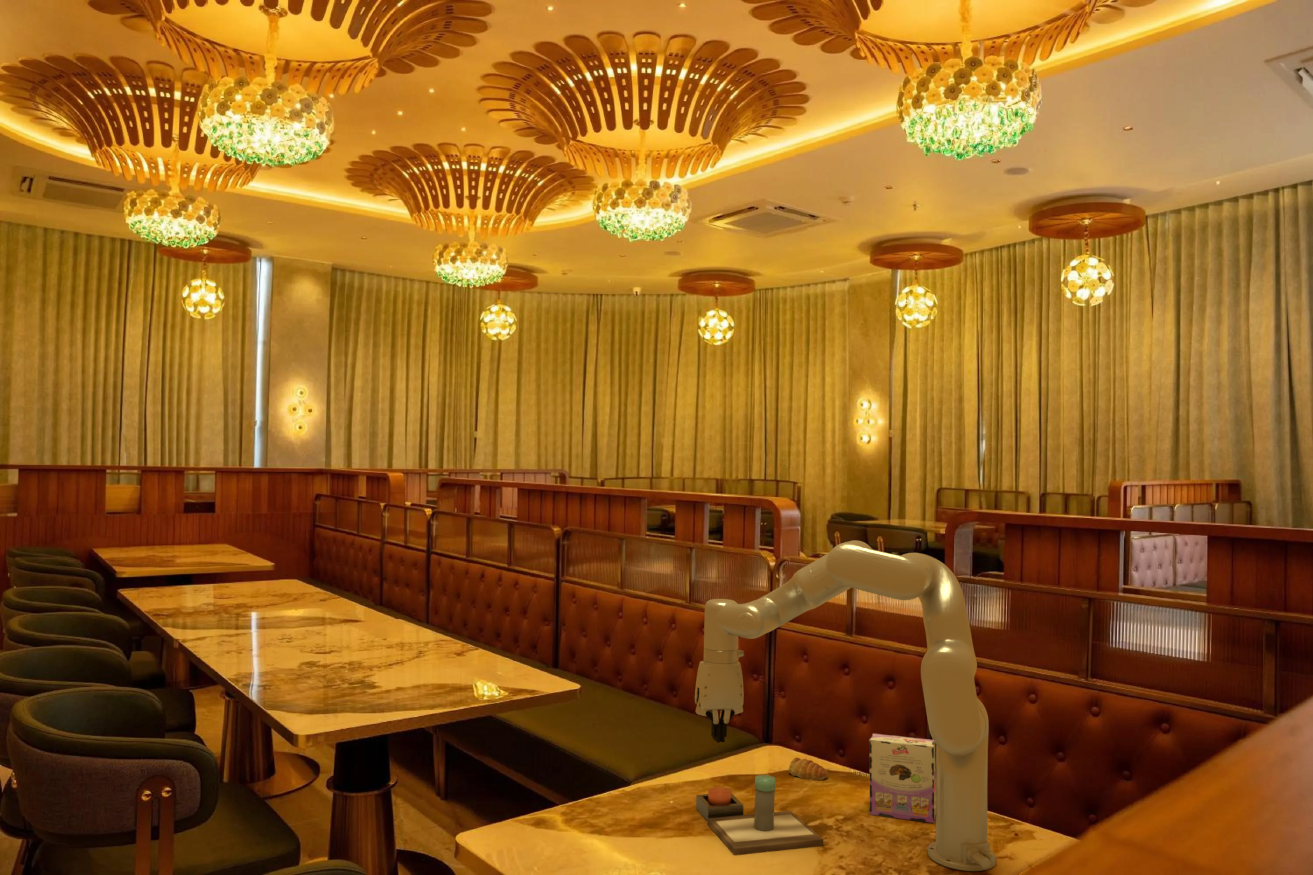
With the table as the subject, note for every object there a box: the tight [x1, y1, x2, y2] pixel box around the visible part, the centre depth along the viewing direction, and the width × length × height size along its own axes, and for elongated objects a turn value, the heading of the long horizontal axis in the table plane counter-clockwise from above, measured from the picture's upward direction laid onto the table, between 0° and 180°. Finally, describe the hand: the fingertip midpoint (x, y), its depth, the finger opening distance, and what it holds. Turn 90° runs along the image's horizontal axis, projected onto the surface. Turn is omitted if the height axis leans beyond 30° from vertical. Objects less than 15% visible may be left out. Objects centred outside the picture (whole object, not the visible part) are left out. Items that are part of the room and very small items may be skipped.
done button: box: [707, 786, 732, 806], centre depth 196 cm, size 5×5×2 cm
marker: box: [753, 774, 777, 831], centre depth 185 cm, size 4×4×10 cm
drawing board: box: [706, 810, 824, 856], centre depth 185 cm, size 16×19×1 cm
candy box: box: [868, 733, 936, 824], centre depth 197 cm, size 14×6×16 cm, turn 69°
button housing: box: [695, 792, 744, 821], centre depth 196 cm, size 8×8×3 cm
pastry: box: [788, 756, 829, 781], centre depth 222 cm, size 9×7×4 cm
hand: (718, 740), depth 197 cm, fingers closed
